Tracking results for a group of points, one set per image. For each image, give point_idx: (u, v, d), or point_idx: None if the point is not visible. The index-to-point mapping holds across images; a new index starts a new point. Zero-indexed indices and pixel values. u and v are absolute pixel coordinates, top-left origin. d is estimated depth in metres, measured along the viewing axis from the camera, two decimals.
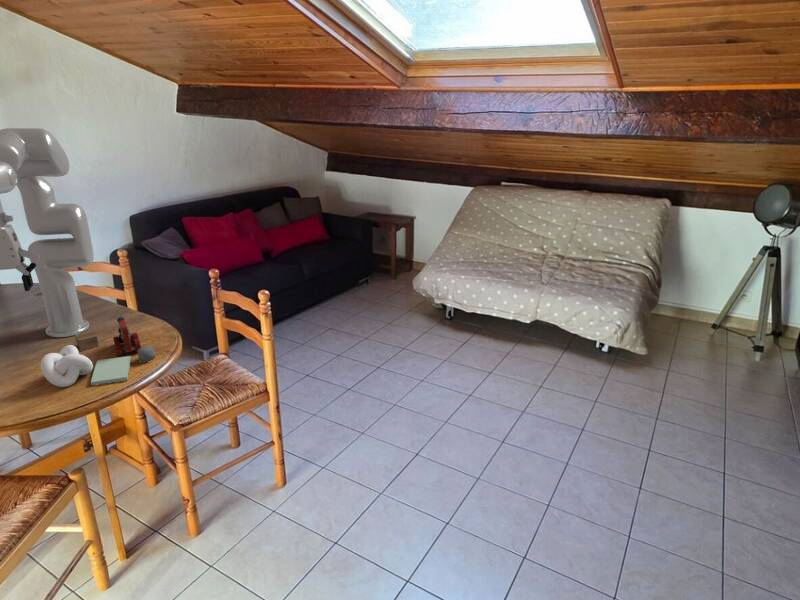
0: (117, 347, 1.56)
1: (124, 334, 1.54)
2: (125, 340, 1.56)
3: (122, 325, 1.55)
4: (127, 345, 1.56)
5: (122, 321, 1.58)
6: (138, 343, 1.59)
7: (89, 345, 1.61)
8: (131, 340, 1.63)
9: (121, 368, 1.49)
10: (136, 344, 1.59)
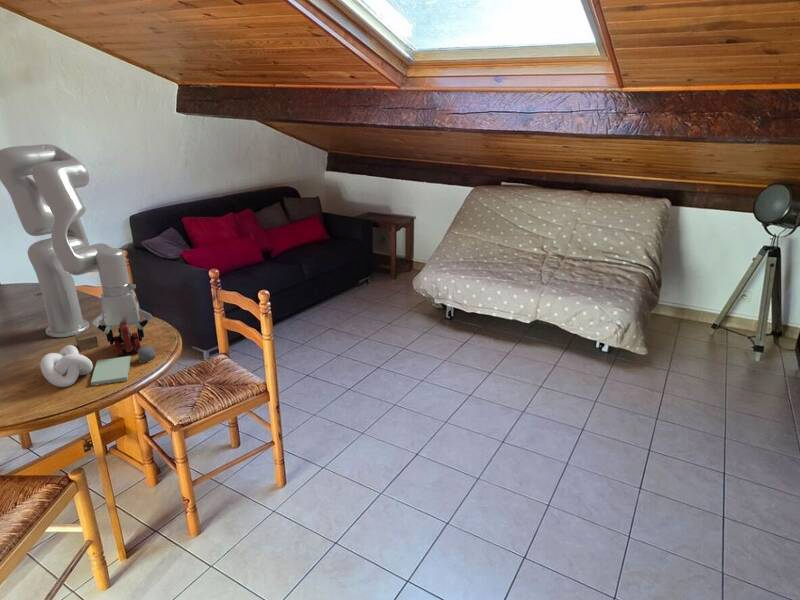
0: (117, 347, 1.56)
1: (124, 334, 1.54)
2: (125, 340, 1.55)
3: (122, 325, 1.55)
4: (127, 345, 1.56)
5: None
6: (138, 343, 1.59)
7: (89, 345, 1.61)
8: (131, 340, 1.63)
9: (121, 368, 1.49)
10: (136, 344, 1.59)
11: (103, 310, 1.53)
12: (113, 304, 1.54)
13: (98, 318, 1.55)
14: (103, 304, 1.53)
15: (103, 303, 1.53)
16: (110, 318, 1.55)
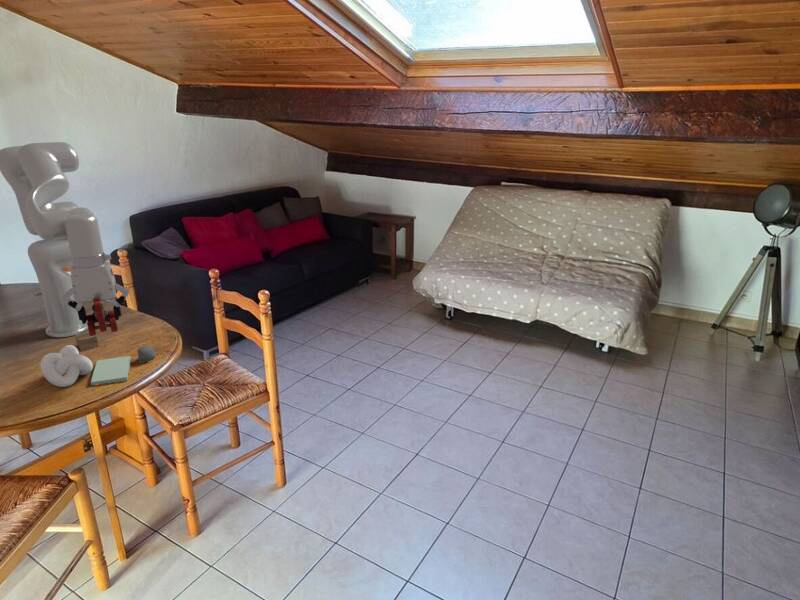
0: (89, 326, 1.38)
1: (97, 311, 1.36)
2: (98, 318, 1.37)
3: (95, 301, 1.37)
4: (101, 324, 1.38)
5: None
6: (114, 322, 1.41)
7: (89, 345, 1.61)
8: (107, 319, 1.45)
9: (121, 368, 1.49)
10: (111, 323, 1.41)
11: (73, 284, 1.35)
12: (85, 277, 1.35)
13: (68, 293, 1.37)
14: (73, 277, 1.34)
15: (73, 276, 1.34)
16: (81, 293, 1.37)
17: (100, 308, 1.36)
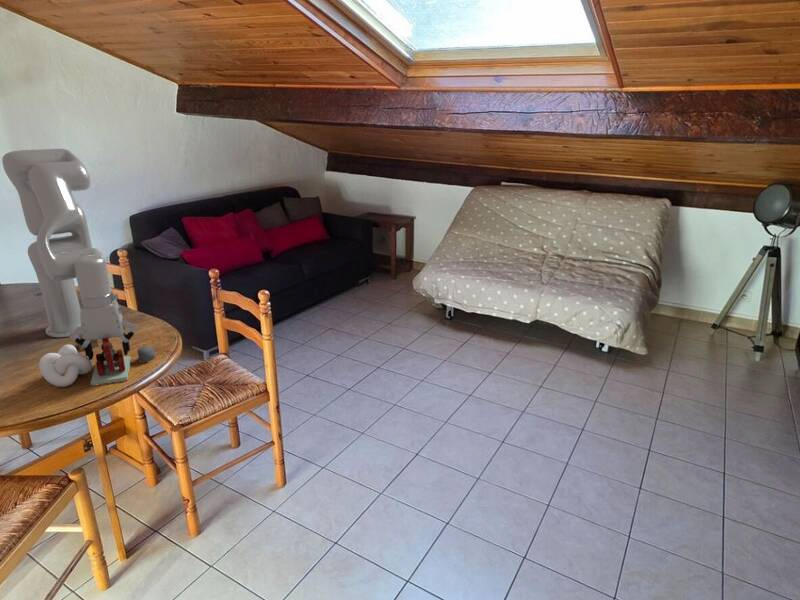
0: (98, 366, 1.43)
1: (106, 352, 1.41)
2: (107, 359, 1.42)
3: (104, 342, 1.42)
4: (109, 364, 1.43)
5: None
6: (122, 362, 1.46)
7: None
8: (115, 358, 1.50)
9: None
10: (119, 363, 1.46)
11: (82, 323, 1.40)
12: (94, 316, 1.40)
13: (76, 331, 1.41)
14: (82, 316, 1.39)
15: (82, 315, 1.39)
16: (90, 331, 1.41)
17: (109, 349, 1.41)
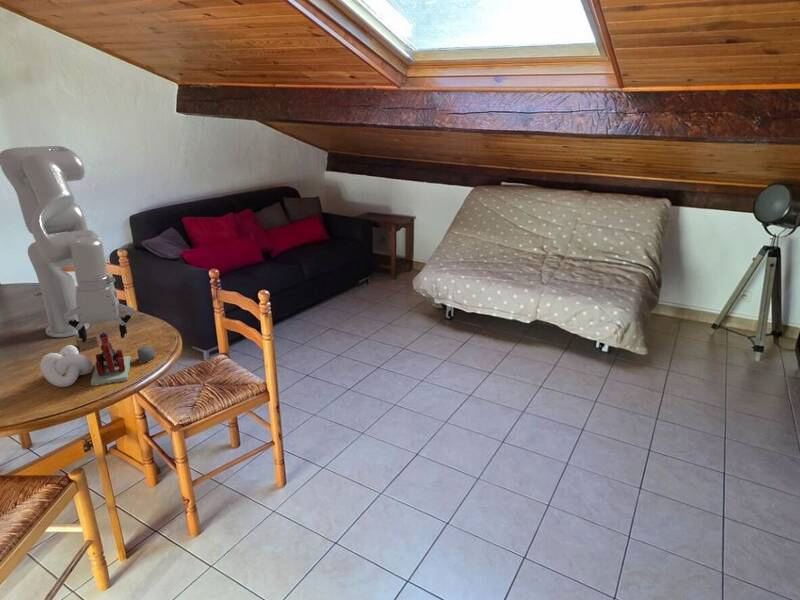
0: (98, 366, 1.43)
1: (105, 353, 1.41)
2: (107, 359, 1.42)
3: (103, 343, 1.42)
4: (109, 364, 1.43)
5: (104, 338, 1.45)
6: (121, 362, 1.46)
7: (88, 345, 1.61)
8: (115, 358, 1.50)
9: None
10: (119, 363, 1.46)
11: (78, 306, 1.38)
12: (89, 299, 1.38)
13: (71, 313, 1.39)
14: (78, 299, 1.37)
15: (78, 298, 1.37)
16: (86, 314, 1.39)
17: (108, 350, 1.41)
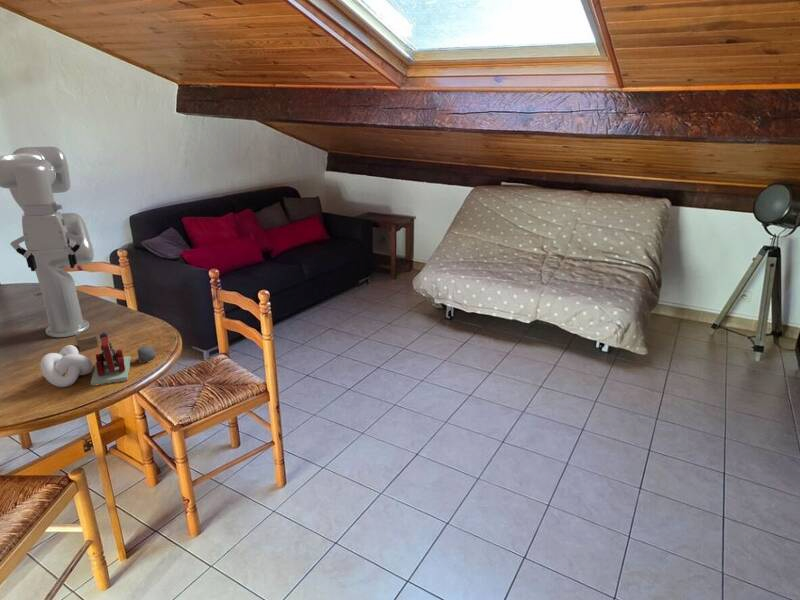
0: (98, 366, 1.43)
1: (105, 353, 1.41)
2: (107, 359, 1.42)
3: (103, 343, 1.42)
4: (109, 364, 1.43)
5: (104, 338, 1.45)
6: (121, 362, 1.46)
7: (88, 345, 1.61)
8: (115, 358, 1.50)
9: None
10: (119, 363, 1.46)
11: (24, 232, 1.40)
12: (36, 225, 1.40)
13: (18, 240, 1.41)
14: (24, 225, 1.39)
15: (24, 224, 1.39)
16: (33, 241, 1.41)
17: (108, 350, 1.41)
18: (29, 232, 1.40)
